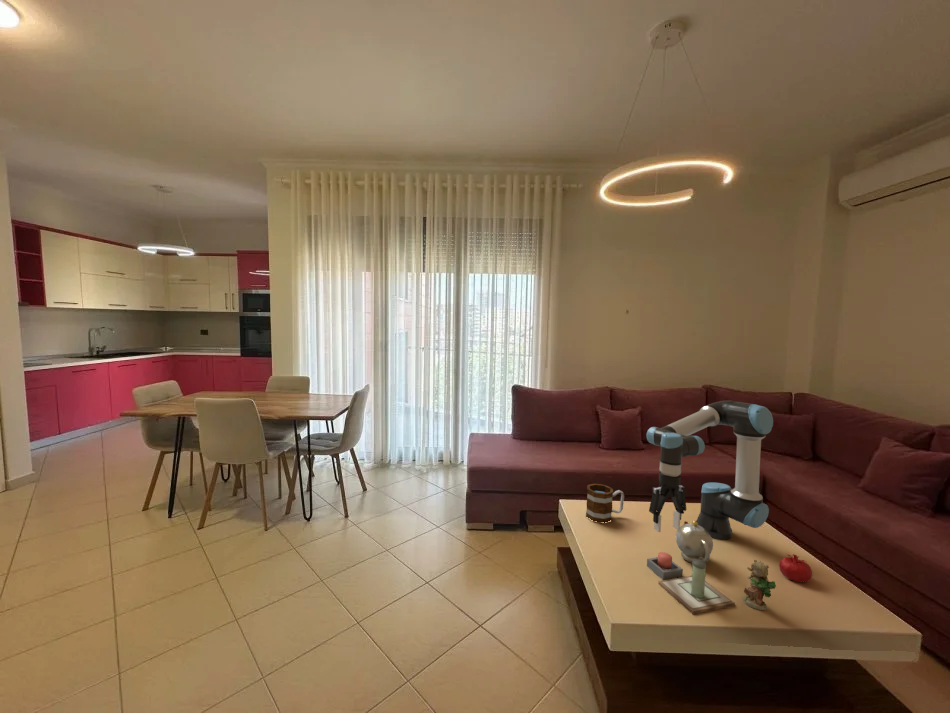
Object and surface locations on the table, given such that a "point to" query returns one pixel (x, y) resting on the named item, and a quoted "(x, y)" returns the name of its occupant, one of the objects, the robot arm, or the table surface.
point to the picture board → (682, 594)
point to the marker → (698, 578)
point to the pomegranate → (795, 569)
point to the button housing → (664, 574)
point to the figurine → (758, 586)
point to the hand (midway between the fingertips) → (666, 529)
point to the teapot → (694, 542)
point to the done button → (664, 560)
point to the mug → (601, 502)
